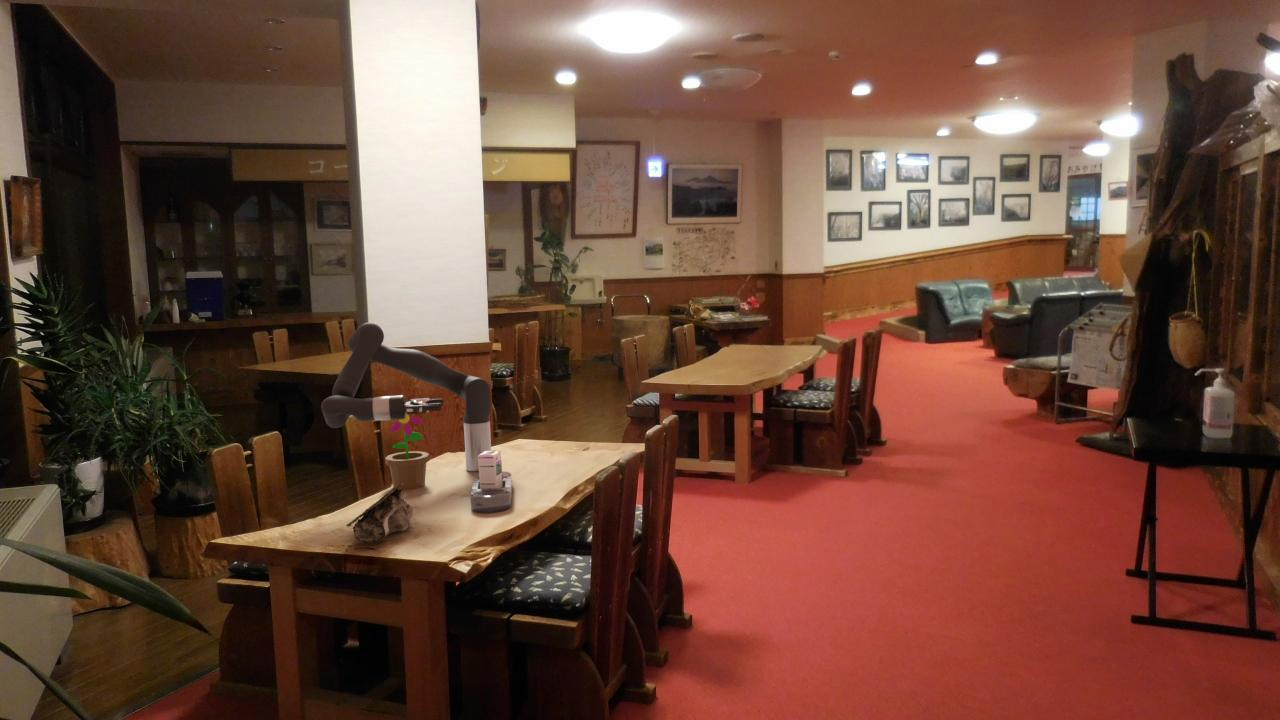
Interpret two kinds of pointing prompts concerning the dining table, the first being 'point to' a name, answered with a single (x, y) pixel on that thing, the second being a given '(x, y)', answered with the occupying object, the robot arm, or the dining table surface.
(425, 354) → the robot arm
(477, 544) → the dining table surface
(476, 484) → the link
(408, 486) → the flowerpot
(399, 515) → the hollow geode rock
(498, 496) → the link
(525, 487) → the dining table surface
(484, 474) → the syrup box
